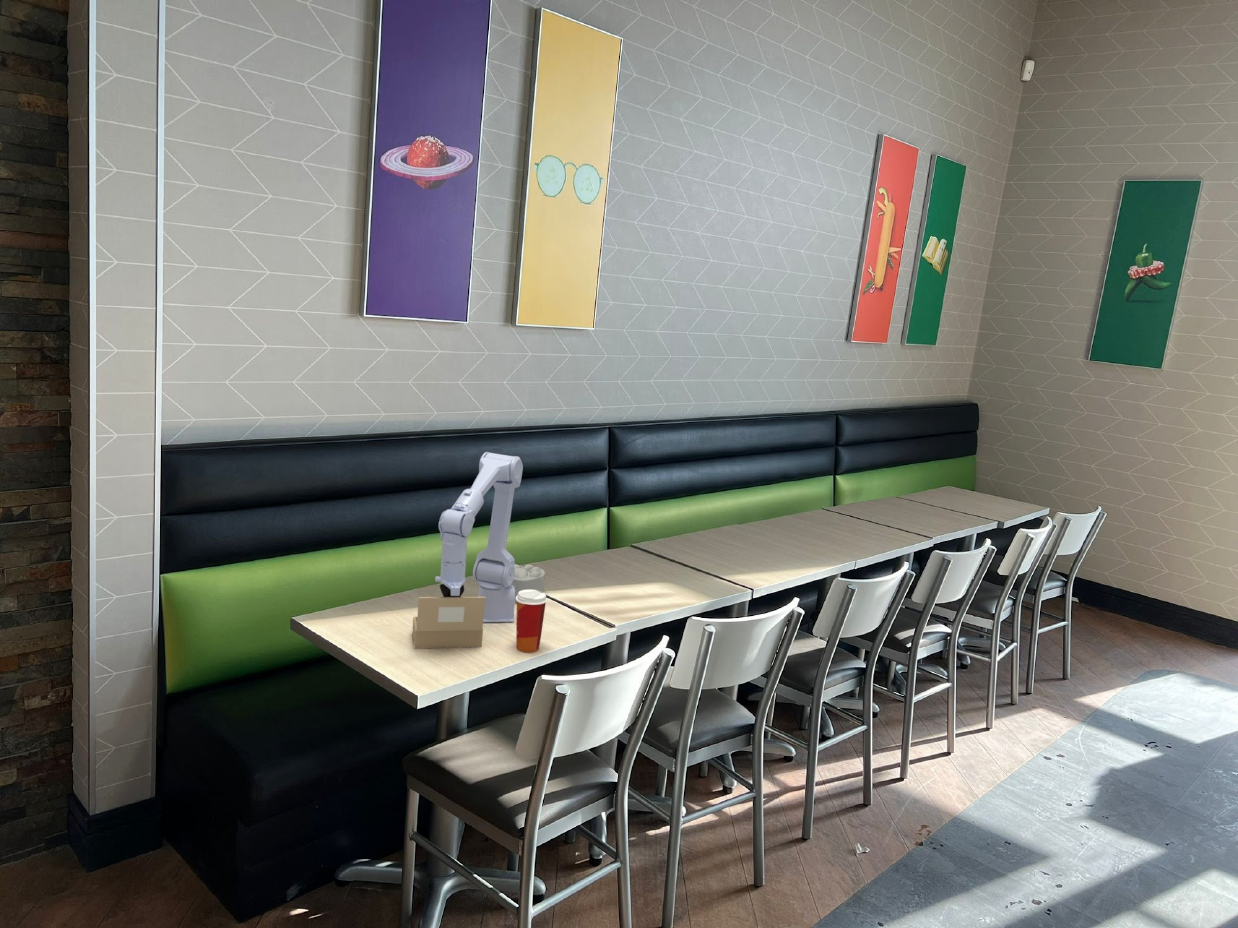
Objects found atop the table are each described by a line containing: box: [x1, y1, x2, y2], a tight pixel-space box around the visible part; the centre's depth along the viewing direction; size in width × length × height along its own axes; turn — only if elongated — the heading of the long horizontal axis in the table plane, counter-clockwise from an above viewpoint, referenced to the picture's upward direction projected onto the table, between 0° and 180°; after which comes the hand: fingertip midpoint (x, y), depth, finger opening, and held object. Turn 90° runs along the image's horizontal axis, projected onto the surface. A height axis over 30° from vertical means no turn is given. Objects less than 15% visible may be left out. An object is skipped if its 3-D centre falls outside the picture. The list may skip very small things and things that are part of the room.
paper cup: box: [515, 590, 548, 654], centre depth 223 cm, size 8×8×14 cm
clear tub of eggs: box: [511, 563, 546, 605], centre depth 260 cm, size 10×13×9 cm
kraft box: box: [411, 616, 484, 649], centre depth 224 cm, size 16×9×4 cm, turn 106°
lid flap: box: [416, 596, 486, 631], centre depth 217 cm, size 16×9×1 cm
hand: (450, 614), depth 218 cm, fingers closed
